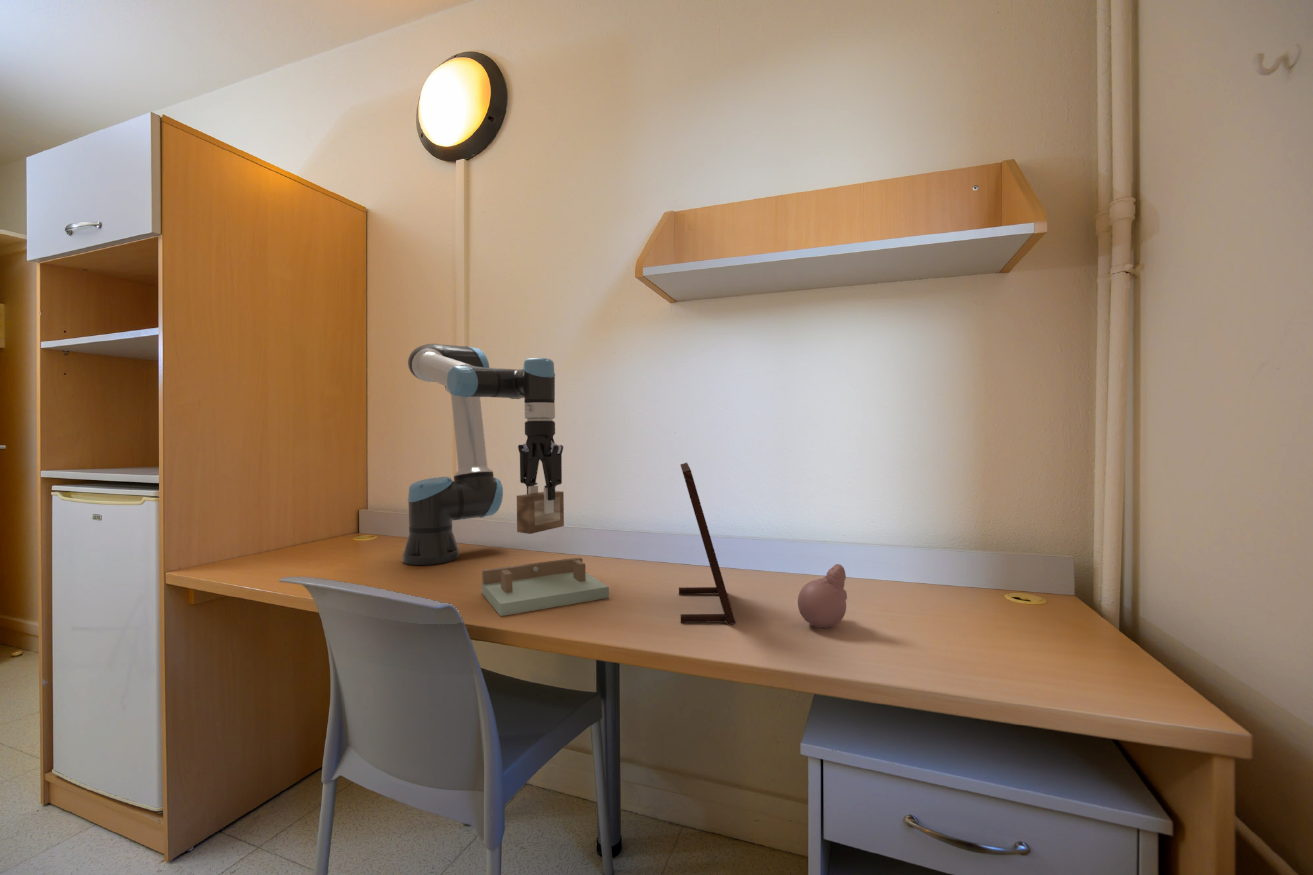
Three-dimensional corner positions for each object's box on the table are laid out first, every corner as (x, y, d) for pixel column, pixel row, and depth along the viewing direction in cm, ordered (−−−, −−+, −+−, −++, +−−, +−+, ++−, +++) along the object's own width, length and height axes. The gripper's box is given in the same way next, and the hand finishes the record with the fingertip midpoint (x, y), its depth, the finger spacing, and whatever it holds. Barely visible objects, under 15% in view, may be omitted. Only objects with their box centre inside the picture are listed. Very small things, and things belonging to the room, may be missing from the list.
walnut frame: (517, 532, 137) (516, 495, 137) (551, 524, 147) (550, 490, 147) (530, 533, 135) (530, 496, 134) (564, 526, 145) (563, 491, 145)
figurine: (853, 620, 110) (853, 559, 109) (839, 638, 100) (840, 572, 100) (808, 612, 114) (808, 554, 114) (791, 629, 105) (791, 566, 104)
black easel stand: (735, 625, 107) (735, 469, 107) (680, 624, 107) (679, 470, 107) (724, 592, 128) (724, 462, 127) (678, 592, 128) (677, 462, 128)
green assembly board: (482, 592, 129) (481, 565, 129) (579, 578, 140) (579, 552, 140) (500, 616, 113) (500, 584, 113) (608, 597, 125) (608, 568, 124)
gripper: (504, 420, 142) (505, 511, 142) (555, 419, 132) (556, 517, 133) (525, 420, 148) (526, 507, 149) (576, 419, 139) (577, 512, 139)
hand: (541, 512), depth 141 cm, fingers closed on walnut frame, 5 cm apart
